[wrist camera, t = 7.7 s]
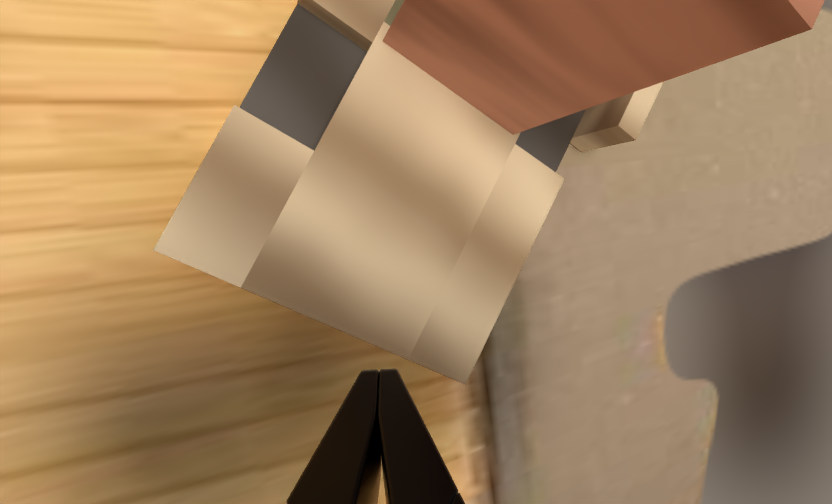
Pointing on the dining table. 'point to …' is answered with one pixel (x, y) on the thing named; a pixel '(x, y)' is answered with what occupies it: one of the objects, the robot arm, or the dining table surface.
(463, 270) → the shallow open box
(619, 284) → the dining table surface
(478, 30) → the block
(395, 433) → the robot arm
